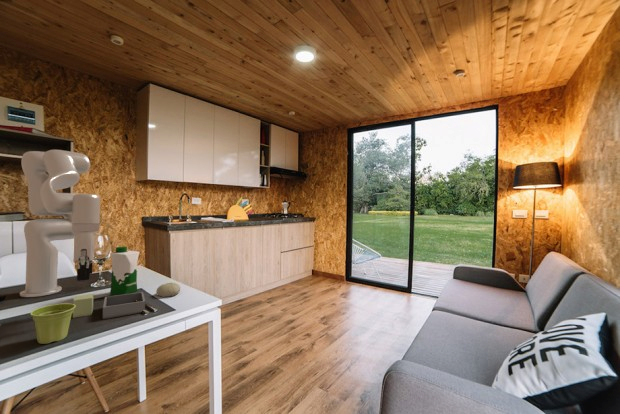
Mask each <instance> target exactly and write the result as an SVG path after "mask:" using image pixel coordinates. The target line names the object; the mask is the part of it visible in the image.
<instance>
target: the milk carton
mask: <svg viewBox="0 0 620 414" xmlns="http://www.w3.org/2000/svg"><path fill="white" fill-rule="evenodd" d="M127 248H128V247H127V246H117V247H115V251H113V252H110V253H109V256H110V259H111V276H110V277H111V279H110V281H111V282H110V283H111V284H110V289H109V291H110V292H109V295H110V296H116V295H123V294H131V293H138V282H137V279H138V271H137V270H138V261H139V260H138V259H139V256H140V251H136V250H128V249H127Z"/></svg>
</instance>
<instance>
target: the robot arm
mask: <svg viewBox="0 0 620 414" xmlns="http://www.w3.org/2000/svg"><path fill="white" fill-rule="evenodd" d="M21 168H22V172H23V174H24V176H25V178H26V181H27V184H28V187H27V188H28V192H27V193H28V209H29V212H30V214H31V215H34V216H38V217H39V216H43V217H45V216H47V217H49V216H50V217H51V216H55V217H58V216H59V217H60V216H61V217H63V218H36V219H32V220H29V221H27V222H26V223H25V224H24V226H23V233H24V238H25V246H26V257H25V259H26V261H25V263H26V264H25V289H24V290H22V291H20V292H19V296H20V297H22V298H36V297H43V296H48V295H53V294H57V293H59V292H61V291H62V286H60V285H58V259H59V256H58V255H59V250H58V249H57V247H56V246H55V245H54V244H53V243H52V241H64V240H73V239H74V243H73V245H74V247H73V260H72V261H73V263H78V264H77V270H76V272H77V273H76V274H77V275H76V280H77V281H78V282H79V281H80V282H81V281H88V280H90V277H91V274H93V259H94V256H95V249H96V234H97V233H100V228H101V227H100V223H101V222H100V219H101V217H100V216H101V198H100V195H98V194H94V193H73V192H72V193H71V192H57V191H61V190H63V189H68V188H71V187H73V186H75V185H77V184H78V183H79V182H80V179H81V177H80V175H82V174H86V173H87V172H89V171H90V169H91V160H90V159H89V157H88V156H87V155H85V153H81V152H75V151H74V152H73V151H69V150H63V149H50V150H46V151H39V150H37V151H36V150H33V151H32V150H30V151H25V152H24V153H23V154H22V157H21ZM47 173H48V174H47Z"/></svg>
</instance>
